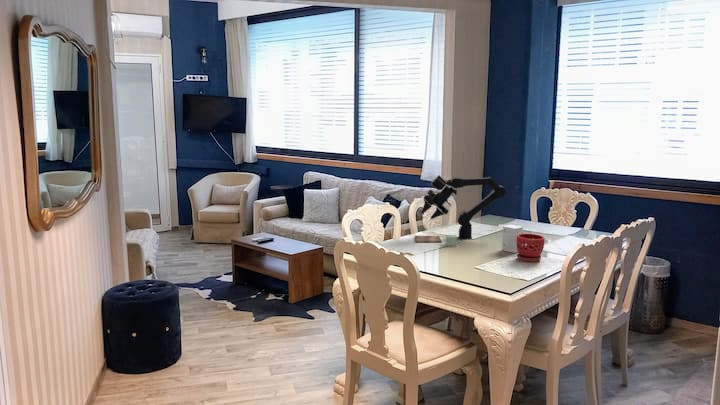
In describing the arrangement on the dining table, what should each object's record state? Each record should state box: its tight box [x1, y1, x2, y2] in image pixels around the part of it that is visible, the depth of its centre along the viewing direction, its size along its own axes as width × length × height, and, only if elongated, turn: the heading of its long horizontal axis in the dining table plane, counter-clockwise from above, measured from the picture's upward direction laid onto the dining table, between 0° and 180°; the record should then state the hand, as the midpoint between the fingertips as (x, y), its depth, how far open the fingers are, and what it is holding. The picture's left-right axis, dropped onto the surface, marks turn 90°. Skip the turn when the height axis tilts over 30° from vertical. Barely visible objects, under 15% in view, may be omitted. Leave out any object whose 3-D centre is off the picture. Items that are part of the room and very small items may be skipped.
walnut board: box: [414, 235, 442, 244], centre depth 314 cm, size 14×12×1 cm
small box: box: [501, 224, 524, 254], centre depth 290 cm, size 8×6×13 cm
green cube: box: [445, 234, 458, 247], centre depth 304 cm, size 5×5×5 cm
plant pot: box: [516, 233, 546, 263], centre depth 274 cm, size 13×13×12 cm
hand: (426, 215), depth 320 cm, fingers open, 9 cm apart
